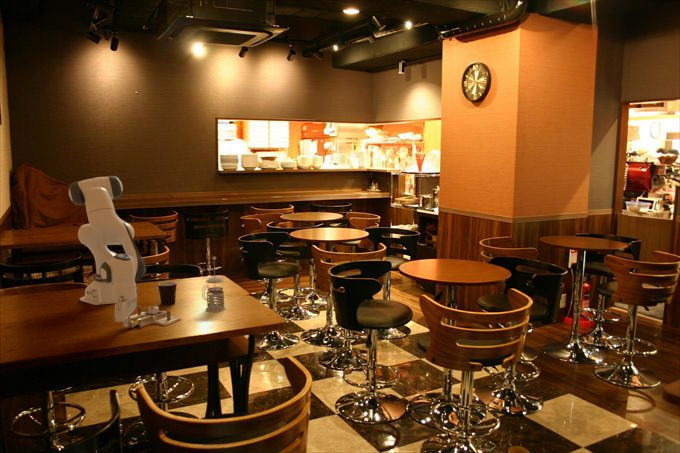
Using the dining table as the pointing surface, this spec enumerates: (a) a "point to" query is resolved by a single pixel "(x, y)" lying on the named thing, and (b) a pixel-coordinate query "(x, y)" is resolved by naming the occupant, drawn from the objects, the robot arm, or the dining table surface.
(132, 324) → the pin
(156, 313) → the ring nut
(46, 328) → the dining table surface
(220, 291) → the french press
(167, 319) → the cradle
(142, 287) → the dining table surface
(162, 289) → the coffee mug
